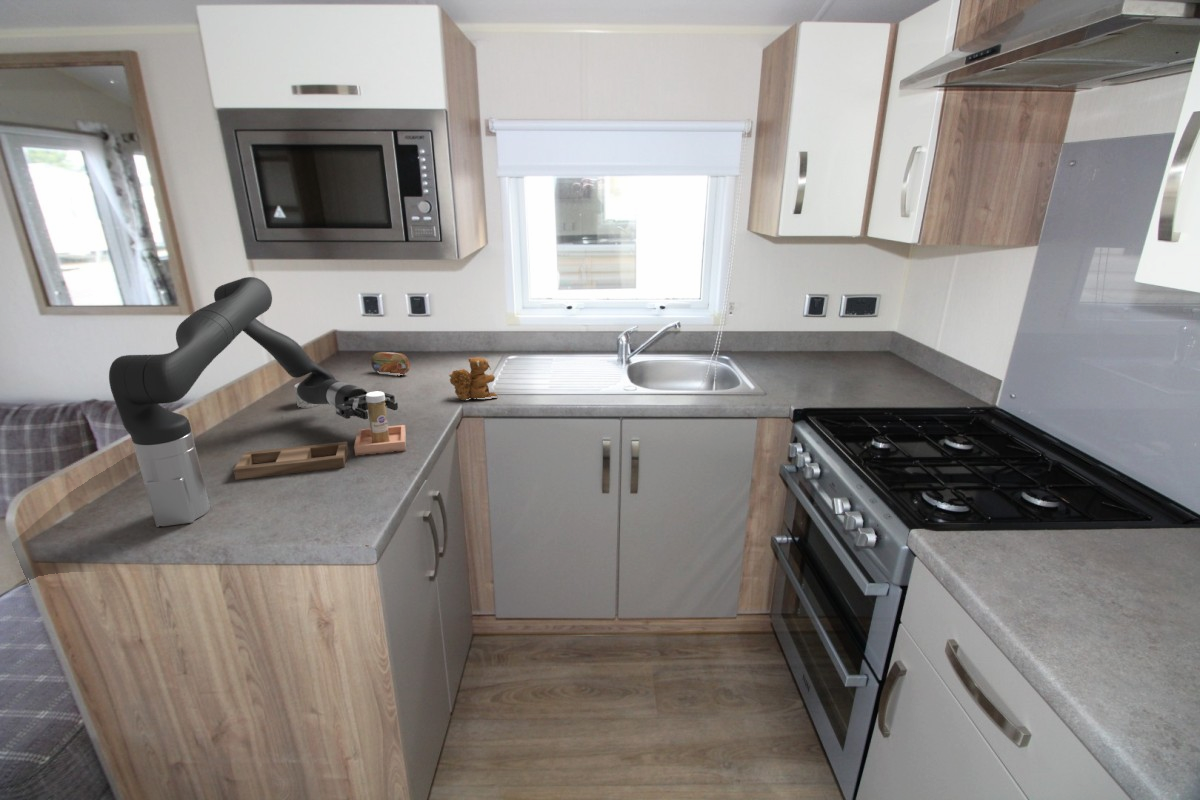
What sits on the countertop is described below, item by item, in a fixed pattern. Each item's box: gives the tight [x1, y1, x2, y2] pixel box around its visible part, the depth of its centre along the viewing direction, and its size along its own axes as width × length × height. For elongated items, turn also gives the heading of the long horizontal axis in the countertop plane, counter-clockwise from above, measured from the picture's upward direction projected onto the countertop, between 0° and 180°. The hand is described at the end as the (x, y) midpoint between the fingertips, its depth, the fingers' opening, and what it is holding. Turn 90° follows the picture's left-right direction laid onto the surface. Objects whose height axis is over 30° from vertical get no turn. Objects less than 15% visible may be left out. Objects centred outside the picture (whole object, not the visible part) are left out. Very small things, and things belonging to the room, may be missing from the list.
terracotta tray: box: [353, 424, 407, 457], centre depth 149 cm, size 12×12×2 cm
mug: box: [293, 382, 320, 409], centre depth 178 cm, size 10×7×7 cm
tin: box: [370, 351, 411, 375], centre depth 208 cm, size 15×3×8 cm, turn 73°
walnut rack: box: [233, 441, 349, 480], centre depth 137 cm, size 10×23×2 cm, turn 108°
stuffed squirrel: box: [448, 356, 498, 401], centre depth 184 cm, size 10×14×13 cm
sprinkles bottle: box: [366, 390, 390, 443], centre depth 147 cm, size 5×5×14 cm
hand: (381, 410), depth 145 cm, fingers open, 8 cm apart
